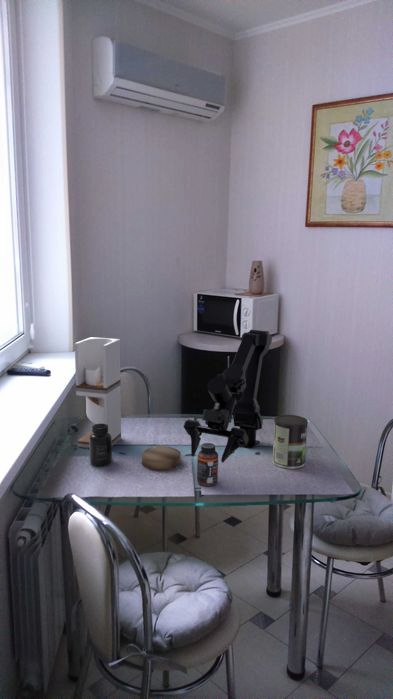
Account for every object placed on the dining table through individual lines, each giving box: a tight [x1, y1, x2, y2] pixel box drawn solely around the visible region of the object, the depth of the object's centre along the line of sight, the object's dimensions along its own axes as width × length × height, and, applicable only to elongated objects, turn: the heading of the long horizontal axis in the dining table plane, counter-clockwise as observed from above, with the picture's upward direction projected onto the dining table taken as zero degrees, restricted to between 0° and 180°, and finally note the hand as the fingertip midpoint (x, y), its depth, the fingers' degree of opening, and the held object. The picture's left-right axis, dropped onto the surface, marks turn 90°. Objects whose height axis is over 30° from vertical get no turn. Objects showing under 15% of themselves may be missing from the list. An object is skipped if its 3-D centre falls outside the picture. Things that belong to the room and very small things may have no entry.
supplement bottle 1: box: [89, 424, 113, 468], centre depth 168 cm, size 7×7×12 cm
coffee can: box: [271, 414, 309, 470], centre depth 171 cm, size 10×10×14 cm
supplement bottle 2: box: [196, 442, 219, 487], centre depth 156 cm, size 6×6×11 cm
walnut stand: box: [141, 445, 182, 472], centre depth 170 cm, size 12×12×3 cm
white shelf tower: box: [74, 336, 122, 449], centre depth 182 cm, size 11×11×35 cm
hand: (206, 458), depth 155 cm, fingers open, 9 cm apart
